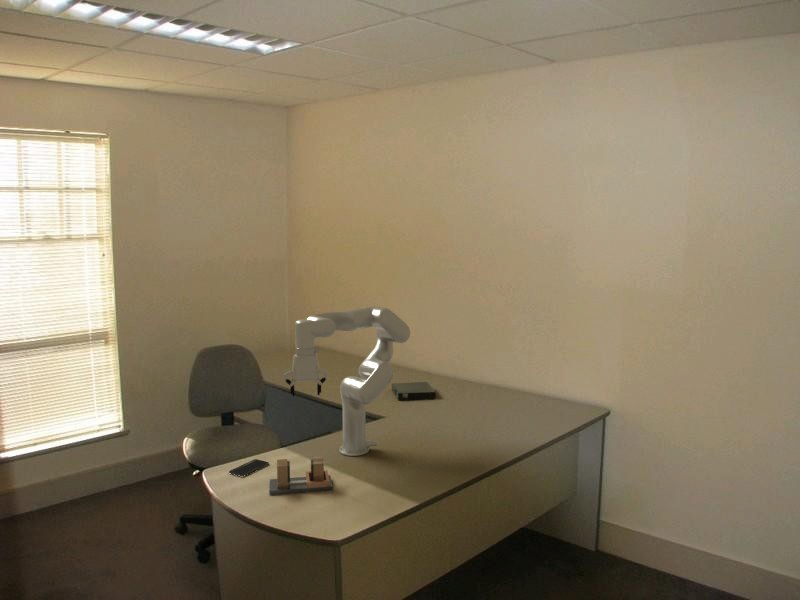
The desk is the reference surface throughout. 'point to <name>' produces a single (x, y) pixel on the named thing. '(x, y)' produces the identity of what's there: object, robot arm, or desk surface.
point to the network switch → (413, 391)
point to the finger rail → (296, 481)
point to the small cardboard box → (317, 469)
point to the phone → (249, 467)
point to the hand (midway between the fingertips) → (306, 395)
